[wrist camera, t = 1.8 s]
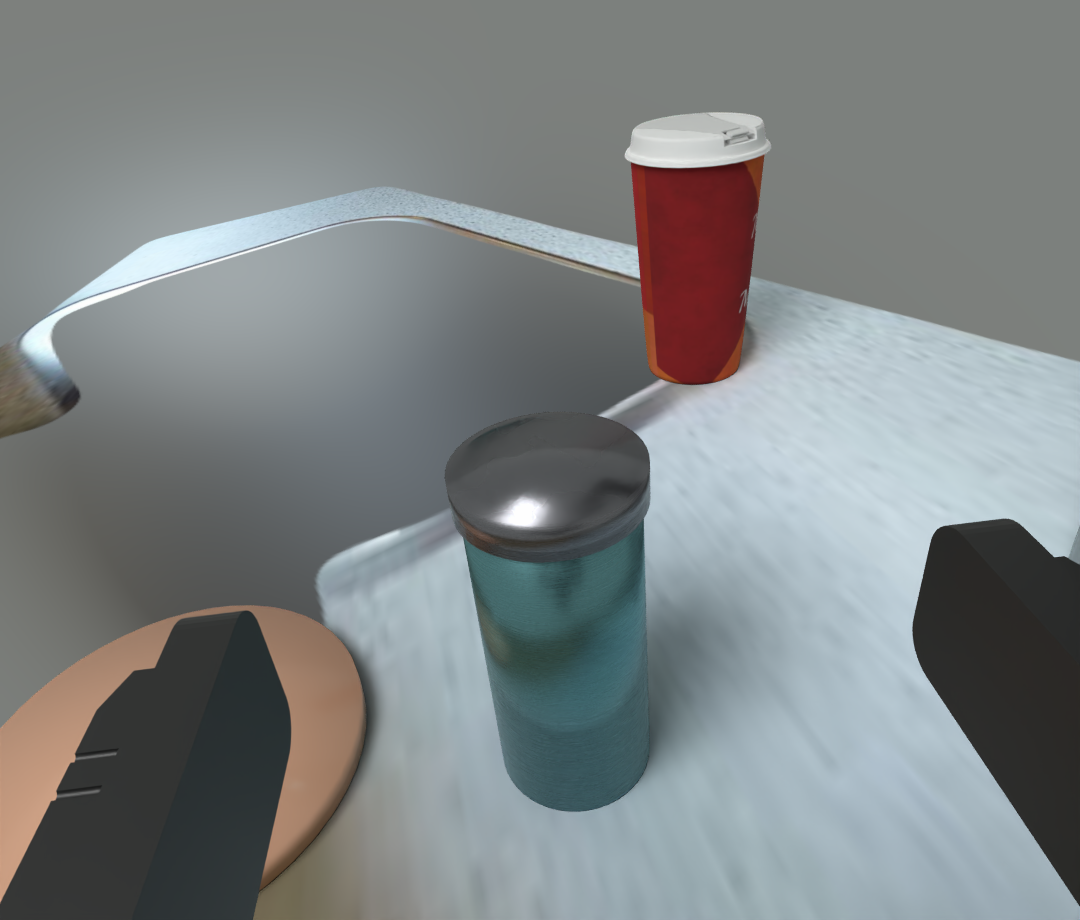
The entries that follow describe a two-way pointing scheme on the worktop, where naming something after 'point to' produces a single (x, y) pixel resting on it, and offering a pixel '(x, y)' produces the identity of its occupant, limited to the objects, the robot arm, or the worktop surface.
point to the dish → (74, 695)
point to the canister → (560, 598)
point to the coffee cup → (696, 238)
